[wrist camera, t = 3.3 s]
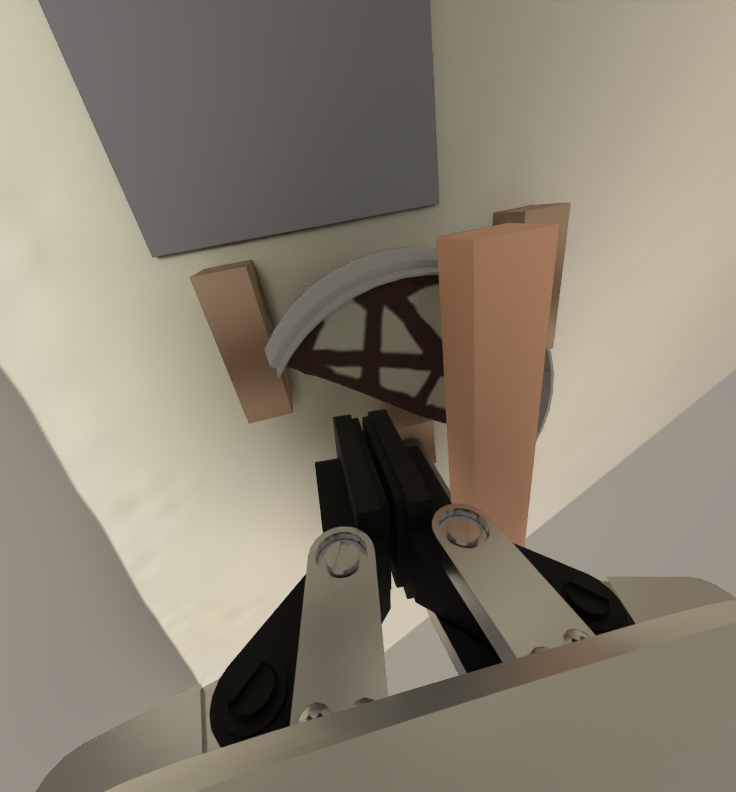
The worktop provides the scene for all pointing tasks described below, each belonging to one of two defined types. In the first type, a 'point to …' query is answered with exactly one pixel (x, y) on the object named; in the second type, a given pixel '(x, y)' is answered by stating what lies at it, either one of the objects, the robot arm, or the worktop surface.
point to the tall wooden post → (495, 362)
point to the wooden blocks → (251, 330)
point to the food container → (378, 332)
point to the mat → (256, 110)
